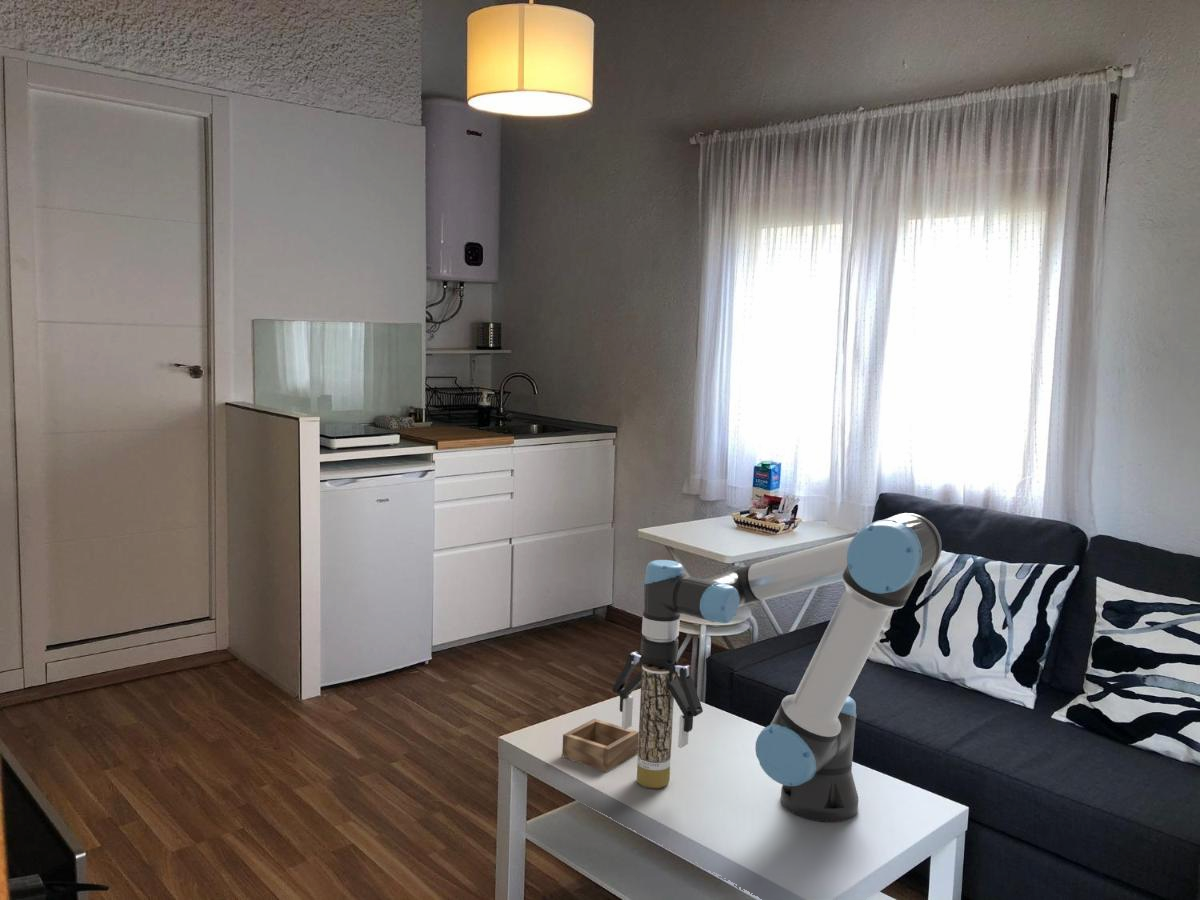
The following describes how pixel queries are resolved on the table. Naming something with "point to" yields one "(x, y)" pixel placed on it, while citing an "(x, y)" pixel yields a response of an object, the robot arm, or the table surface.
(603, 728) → the holder
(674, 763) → the table surface
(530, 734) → the table surface
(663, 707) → the paper tube
